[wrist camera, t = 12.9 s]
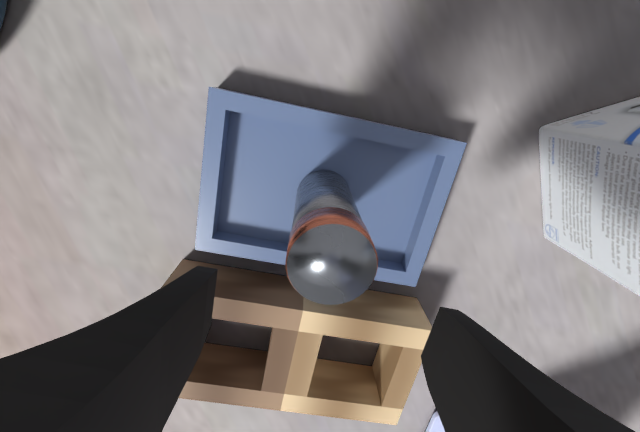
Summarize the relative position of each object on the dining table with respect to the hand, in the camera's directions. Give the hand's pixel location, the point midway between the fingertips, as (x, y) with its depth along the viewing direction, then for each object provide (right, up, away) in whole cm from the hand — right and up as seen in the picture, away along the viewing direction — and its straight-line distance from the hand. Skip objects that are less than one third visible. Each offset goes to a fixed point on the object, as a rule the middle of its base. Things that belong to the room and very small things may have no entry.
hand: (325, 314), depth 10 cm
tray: (0, +4, +7) cm, 8 cm away
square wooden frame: (-5, -3, +10) cm, 11 cm away
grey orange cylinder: (0, +4, +7) cm, 8 cm away
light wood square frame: (+2, -4, +10) cm, 12 cm away
